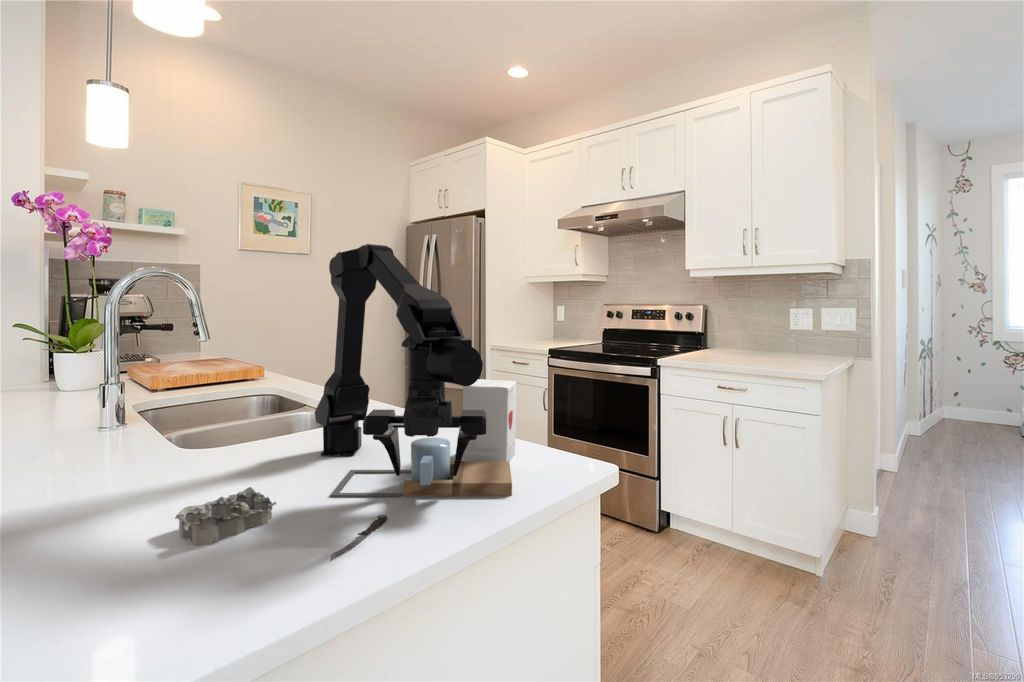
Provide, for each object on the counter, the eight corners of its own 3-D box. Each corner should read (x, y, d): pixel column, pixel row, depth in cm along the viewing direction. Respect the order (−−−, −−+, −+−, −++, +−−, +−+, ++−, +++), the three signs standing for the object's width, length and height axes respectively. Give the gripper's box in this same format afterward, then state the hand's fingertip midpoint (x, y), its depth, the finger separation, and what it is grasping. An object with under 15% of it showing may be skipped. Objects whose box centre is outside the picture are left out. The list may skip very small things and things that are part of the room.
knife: (371, 512, 74) (390, 514, 73) (372, 517, 74) (390, 519, 73) (292, 574, 58) (314, 577, 57) (292, 580, 58) (315, 583, 57)
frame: (329, 497, 81) (329, 495, 80) (350, 471, 92) (350, 469, 92) (400, 496, 81) (400, 494, 81) (412, 471, 93) (412, 469, 93)
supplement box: (507, 466, 96) (508, 387, 95) (461, 463, 98) (461, 385, 97) (516, 452, 105) (517, 380, 104) (474, 449, 107) (474, 378, 106)
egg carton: (196, 553, 63) (195, 521, 63) (172, 535, 68) (170, 505, 67) (280, 523, 72) (279, 494, 71) (253, 509, 76) (252, 482, 76)
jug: (414, 476, 90) (414, 437, 90) (451, 476, 91) (451, 437, 90) (404, 500, 80) (403, 456, 79) (446, 500, 80) (446, 456, 79)
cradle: (402, 495, 82) (402, 483, 81) (413, 472, 92) (413, 461, 92) (511, 495, 82) (512, 482, 82) (509, 472, 93) (509, 461, 93)
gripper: (352, 386, 72) (354, 494, 73) (486, 387, 73) (485, 494, 74) (370, 374, 83) (371, 469, 84) (486, 375, 84) (485, 468, 85)
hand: (426, 475), depth 82 cm, fingers open, 9 cm apart
